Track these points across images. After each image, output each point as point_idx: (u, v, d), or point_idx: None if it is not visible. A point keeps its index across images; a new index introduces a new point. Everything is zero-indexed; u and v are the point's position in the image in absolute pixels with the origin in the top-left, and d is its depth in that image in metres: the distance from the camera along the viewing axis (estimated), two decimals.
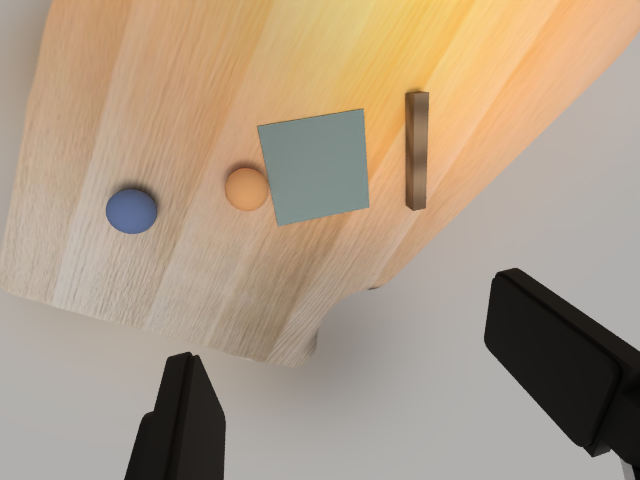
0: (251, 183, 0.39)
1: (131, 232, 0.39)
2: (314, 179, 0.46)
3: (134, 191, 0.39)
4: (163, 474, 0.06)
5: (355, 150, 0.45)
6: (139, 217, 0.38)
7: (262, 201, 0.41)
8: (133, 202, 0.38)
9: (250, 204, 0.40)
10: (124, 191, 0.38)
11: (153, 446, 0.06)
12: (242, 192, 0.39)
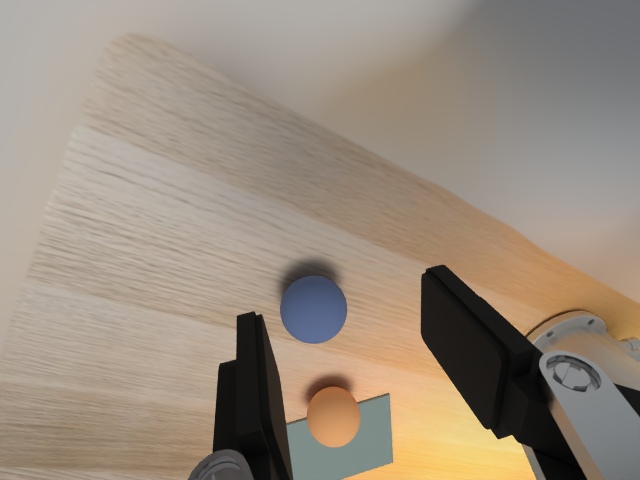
0: (353, 437, 0.32)
1: (293, 327, 0.25)
2: (328, 447, 0.39)
3: None
4: (258, 398, 0.07)
5: (355, 467, 0.43)
6: (320, 341, 0.25)
7: None
8: (340, 329, 0.26)
9: (328, 443, 0.31)
10: None
11: (243, 380, 0.08)
12: (345, 436, 0.31)
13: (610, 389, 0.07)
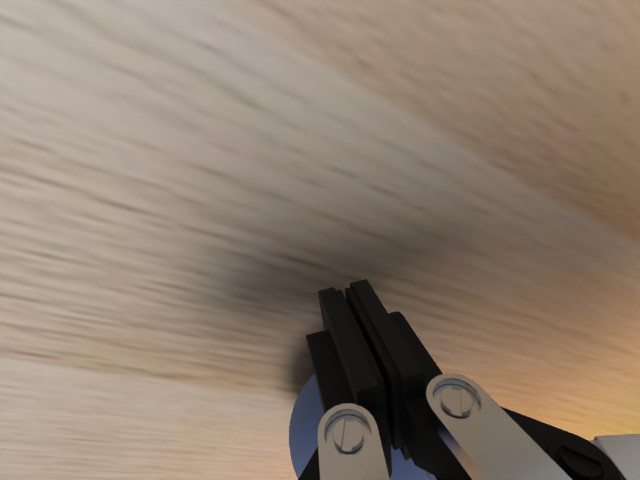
0: None
1: None
2: None
3: None
4: (367, 359, 0.08)
5: None
6: None
7: None
8: None
9: None
10: None
11: (346, 344, 0.08)
12: None
13: (490, 404, 0.07)
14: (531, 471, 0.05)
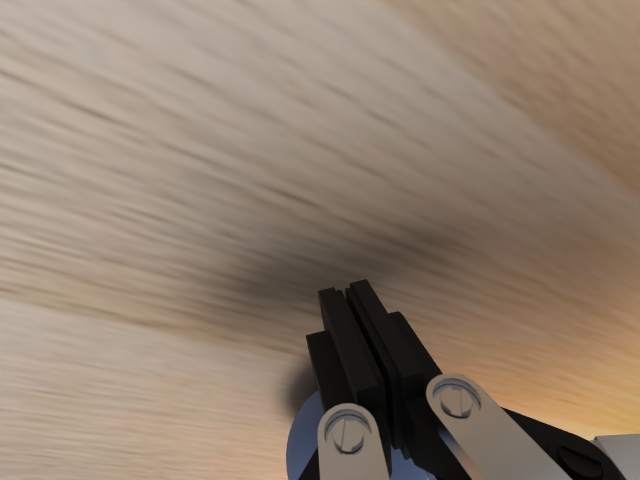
0: None
1: None
2: None
3: None
4: (366, 359, 0.08)
5: None
6: None
7: None
8: None
9: None
10: None
11: (346, 344, 0.08)
12: None
13: (490, 404, 0.07)
14: (531, 471, 0.05)
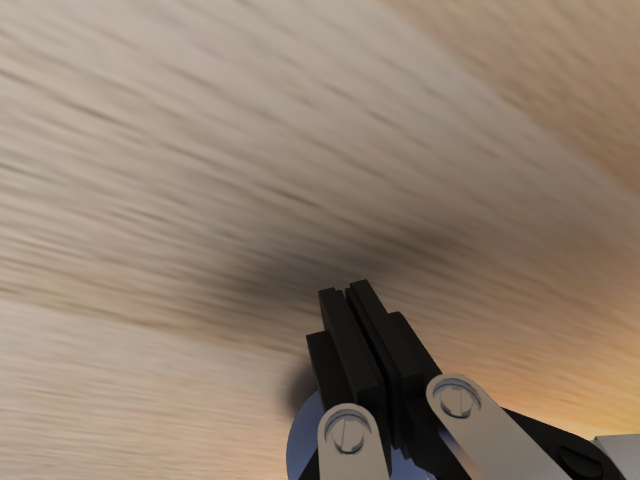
0: None
1: None
2: None
3: None
4: (366, 359, 0.08)
5: None
6: None
7: None
8: None
9: None
10: None
11: (346, 344, 0.08)
12: None
13: (490, 404, 0.07)
14: (531, 471, 0.05)
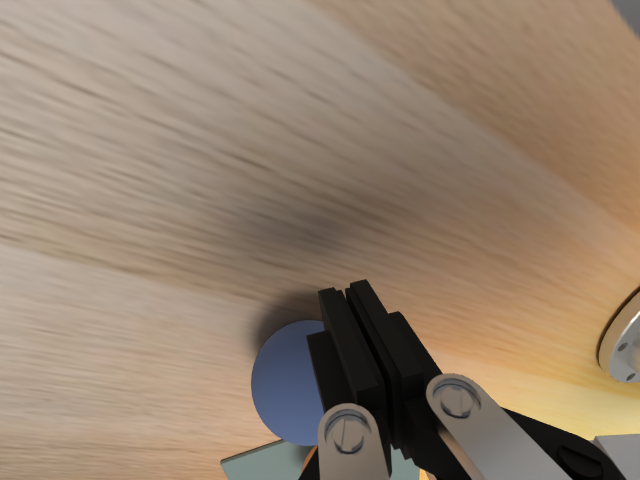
0: None
1: None
2: None
3: None
4: (367, 360, 0.08)
5: None
6: None
7: None
8: None
9: None
10: None
11: (346, 344, 0.08)
12: None
13: (490, 404, 0.07)
14: (531, 471, 0.05)
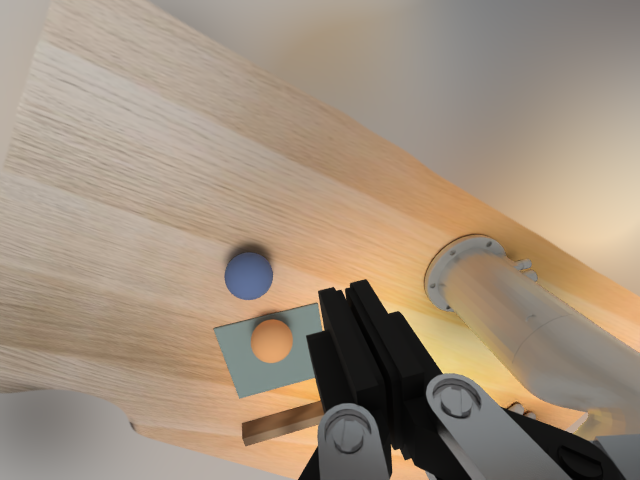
0: None
1: None
2: None
3: (269, 263, 0.38)
4: (367, 359, 0.08)
5: (295, 375, 0.50)
6: None
7: None
8: None
9: None
10: None
11: (346, 344, 0.08)
12: None
13: (489, 404, 0.07)
14: (531, 471, 0.05)
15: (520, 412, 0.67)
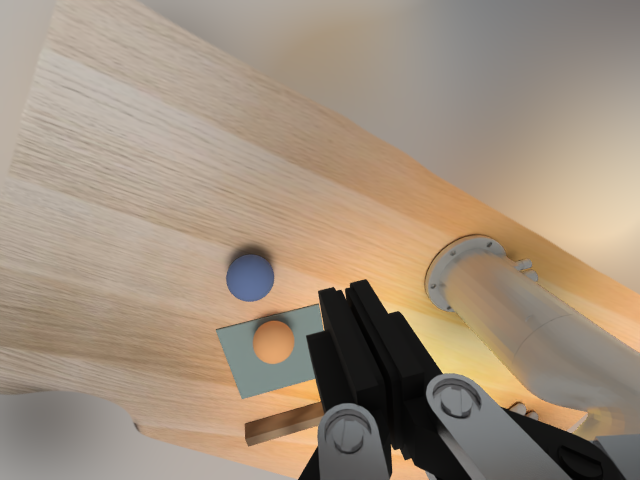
0: None
1: None
2: None
3: (270, 265, 0.38)
4: (366, 359, 0.08)
5: (296, 376, 0.50)
6: None
7: None
8: None
9: None
10: (273, 272, 0.38)
11: (346, 344, 0.08)
12: None
13: (490, 404, 0.07)
14: (531, 471, 0.05)
15: (522, 412, 0.67)
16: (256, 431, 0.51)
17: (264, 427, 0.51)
